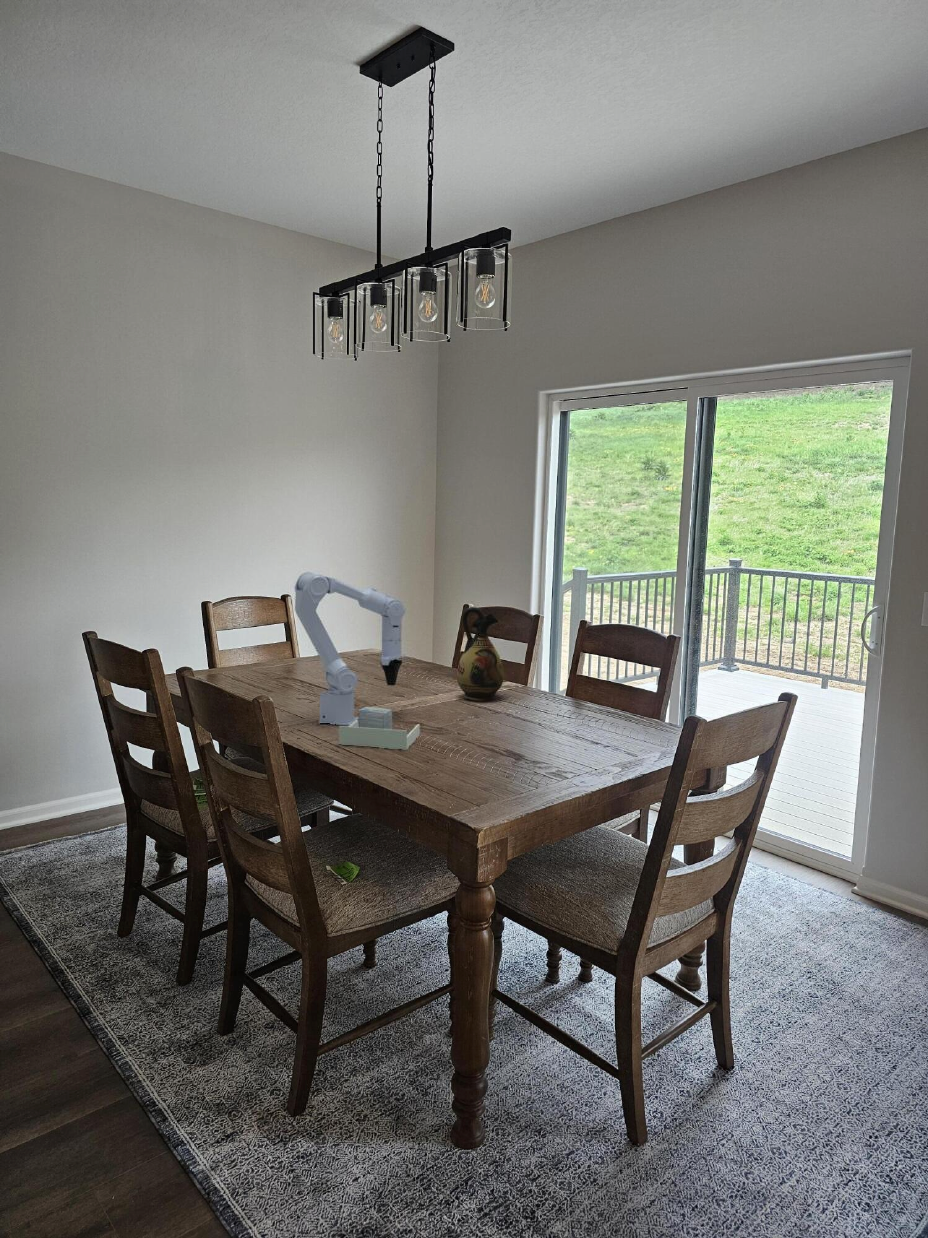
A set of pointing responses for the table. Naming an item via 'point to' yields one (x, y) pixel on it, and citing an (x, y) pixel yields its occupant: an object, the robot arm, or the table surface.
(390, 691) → the table surface
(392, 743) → the box
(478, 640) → the ceramic jug
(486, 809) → the table surface
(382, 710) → the medicine box
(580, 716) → the table surface
